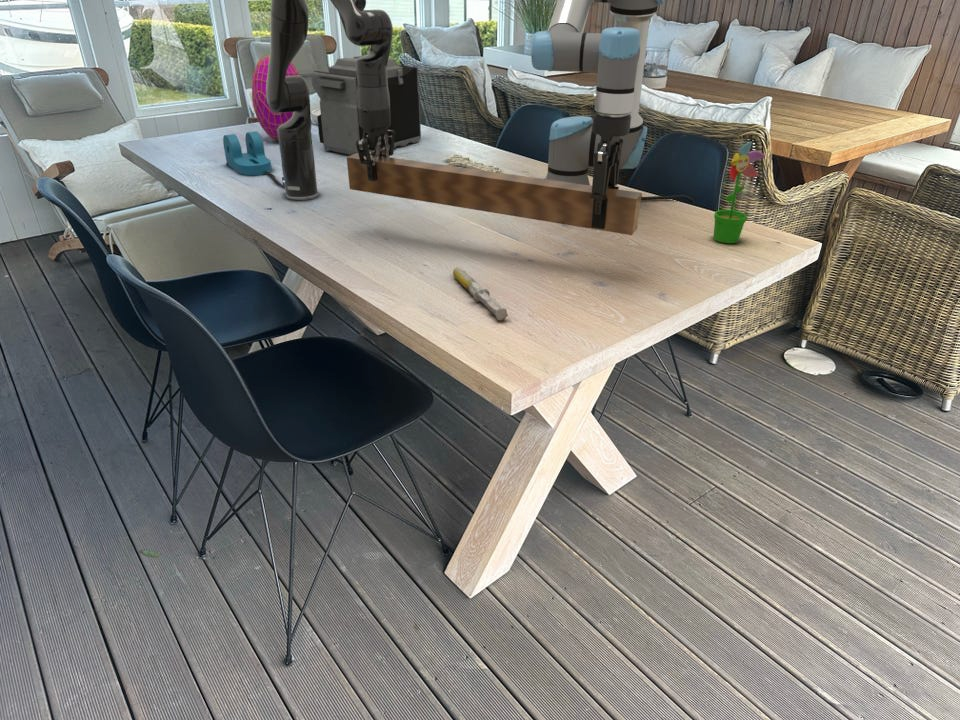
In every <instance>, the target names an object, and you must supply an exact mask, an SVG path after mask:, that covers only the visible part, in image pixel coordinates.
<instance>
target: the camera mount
mask: <svg viewBox="0 0 960 720" xmlns="http://www.w3.org/2000/svg"><path fill="white" fill-rule="evenodd" d="M222 140H223V141H222V143H223V149H224V150H223V151H224V156H225V161H226V163H228V164H229V165H227V166H228V167H230V168H231V169H232V170H234V171H236V172H237V173H238V174H239V175H244V176H260V175H266V174H265V171H267V172H269V173H271V172H272V164H271V159H270V158H268V157H267V156H266V153H265V145H264V141H263V139H262V136H261V134H260V132H258V131H247V132H246V133H245V146H246V152H243V151H242V150H243V149H242V146H241V142H240V140H239V138H238V135H236V134H235V133H231V134H224V135H223V138H222Z"/></svg>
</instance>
